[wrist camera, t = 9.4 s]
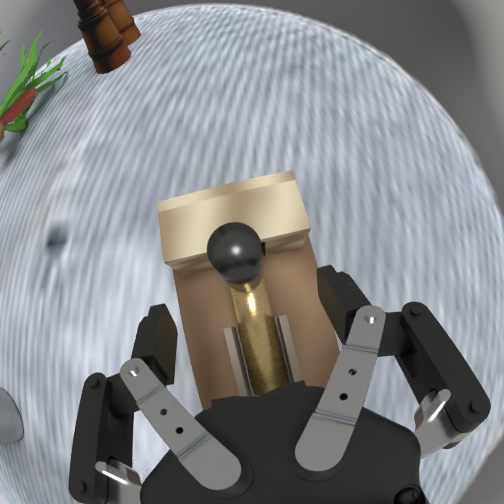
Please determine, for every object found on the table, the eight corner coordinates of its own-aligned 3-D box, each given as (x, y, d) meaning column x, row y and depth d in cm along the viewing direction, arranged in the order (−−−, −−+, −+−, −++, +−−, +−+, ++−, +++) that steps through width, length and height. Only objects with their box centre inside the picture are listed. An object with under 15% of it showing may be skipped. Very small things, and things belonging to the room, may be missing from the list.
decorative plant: (7, 192, 39) (18, 113, 46) (75, 116, 36) (78, 53, 43) (-77, 159, 14) (-38, 78, 21) (-20, 46, 11) (22, 1, 18)
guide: (228, 479, 21) (219, 511, 15) (169, 226, 29) (146, 200, 23) (355, 450, 21) (376, 476, 15) (293, 197, 29) (300, 164, 23)
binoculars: (126, 66, 39) (92, -10, 20) (91, 78, 39) (53, 10, 20) (143, 28, 44) (122, -32, 25) (114, 38, 44) (89, -18, 25)
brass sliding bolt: (253, 388, 22) (246, 431, 12) (217, 225, 27) (190, 165, 16) (288, 381, 22) (305, 418, 12) (248, 217, 27) (239, 153, 16)
